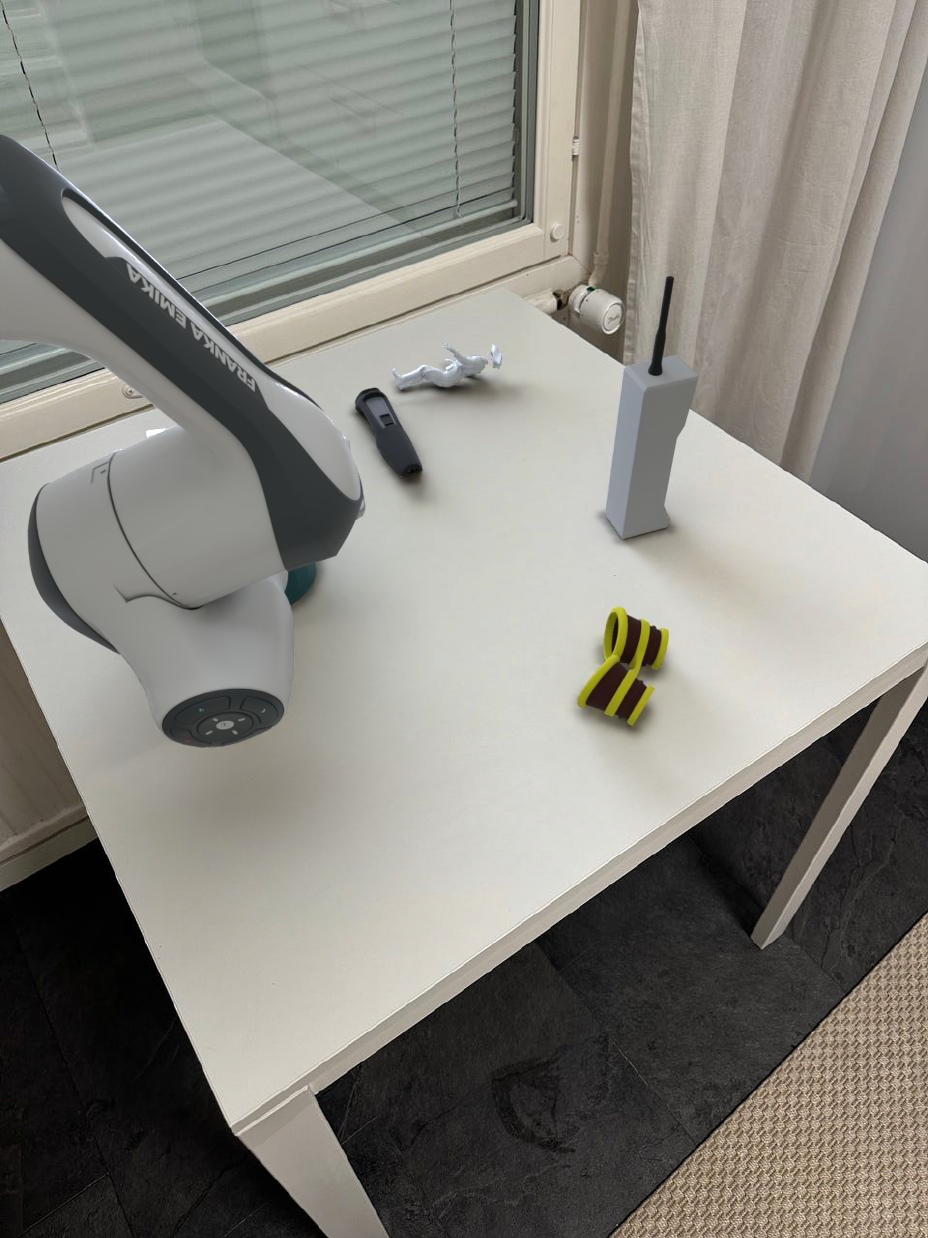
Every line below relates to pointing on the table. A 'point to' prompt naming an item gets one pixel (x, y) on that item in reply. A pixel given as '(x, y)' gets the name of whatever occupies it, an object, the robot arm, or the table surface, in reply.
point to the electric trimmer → (388, 432)
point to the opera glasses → (612, 680)
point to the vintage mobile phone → (648, 435)
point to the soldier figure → (450, 369)
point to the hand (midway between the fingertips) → (218, 428)
